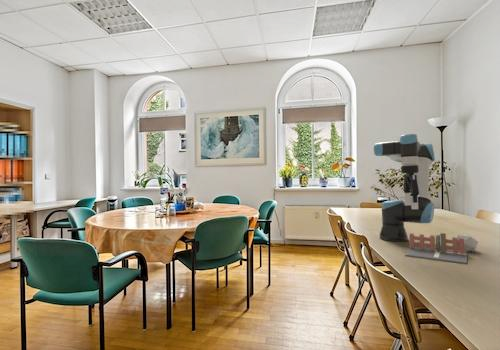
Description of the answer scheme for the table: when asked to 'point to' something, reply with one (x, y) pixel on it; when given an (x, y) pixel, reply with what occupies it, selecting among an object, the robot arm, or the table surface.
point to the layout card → (437, 255)
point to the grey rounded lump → (468, 242)
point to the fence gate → (422, 239)
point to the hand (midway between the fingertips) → (411, 207)
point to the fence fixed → (453, 241)
